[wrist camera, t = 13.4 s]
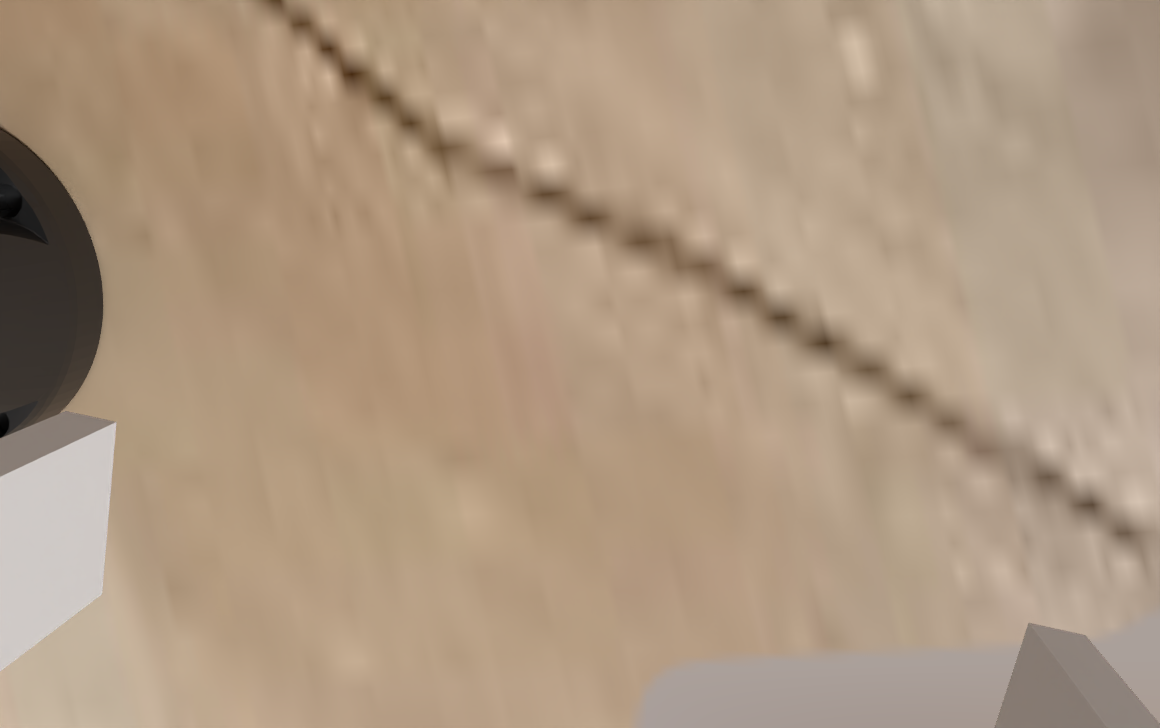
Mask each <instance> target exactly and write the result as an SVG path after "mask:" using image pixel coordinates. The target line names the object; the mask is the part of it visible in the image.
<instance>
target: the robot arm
mask: <svg viewBox="0 0 1160 728" xmlns="http://www.w3.org/2000/svg"><path fill="white" fill-rule="evenodd" d="M102 319H103V291H102V281H101V275H100V269H99V264H98V260H97V256H96V252H95V249H94V246H93V243H92V240H91V237H90V235H89V232H88V230H87V227H86V225H85V223H84V221H83V219H82V217H81V215H80V213H79V211H78V209H77V207H76V206H75V204H74V202H73V201H72V199H71V198H70V196H69V194H68V193H67V191H66V190H65V189H64V187H63V186H62V185H61V183H60V182H59V180H58V179H57V178H56V177H55V176H54V174H53V173H52V172H51V171H50V170H49V169H48V168H47V167H46V166H45V164H44V163H43V162H42V161H41V160H40V159H39V158H38V157H36V156H35V155H34V154H33V153H32V152H31V151H30V150H29V149H27V148H26V147H25V146H24V145H22V144H21V143H20V142H19V141H17V140H16V139H14V138H13V137H11V136H10V135H8V134H7V133H5V132H4V131H2V130H0V671H1V670H3V669H4V668H5V667H7V666H8V665H9V664H11V663H12V662H13V661H14V660H16V659H17V658H18V657H20V656H21V655H22V654H24V653H25V652H26V651H28V650H29V649H30V648H32V647H33V646H34V645H36V644H37V643H38V642H40V641H41V640H42V639H44V638H45V637H46V636H47V635H49V634H50V633H51V632H53V631H54V630H55V629H57V628H58V627H59V626H61V625H62V624H63V623H65V622H66V621H67V620H69V619H70V618H71V617H73V616H74V615H75V614H77V613H78V612H79V611H80V610H82V609H83V608H84V607H86V606H87V605H88V604H90V603H91V602H92V601H94V600H95V599H96V598H98V597H99V596H100V595H102V588H103V576H104V564H105V552H106V540H107V528H108V516H109V504H110V492H111V480H112V468H113V456H114V444H115V432H116V422H114V421H109V420H105V419H100V418H96V417H91V416H87V415H82V414H77V413H73V412H68V411H65V412H63V413H60V412H61V411H62V410H63V409H64V408H65V407H66V406H67V405H68V403H69V402H70V401H71V400H72V399H73V397H74V396H75V395H76V393H77V392H78V390H79V389H80V387H81V386H82V384H83V382H84V380H85V378H86V377H87V374H88V372H89V370H90V368H91V366H92V363H93V360H94V357H95V355H96V351H97V348H98V344H99V339H100V334H101V327H102ZM59 413H60V414H59ZM995 728H1160V723H1159V722H1158V721H1157V720H1156V719H1155V717H1154V716H1153V715H1152V714H1151V713H1150V712H1149V710H1148V709H1147V708H1146V707H1145V706H1144V704H1143V703H1142V702H1141V701H1140V700H1139V698H1138V697H1137V696H1136V695H1135V694H1134V692H1133V691H1132V690H1131V689H1130V688H1129V687H1128V685H1127V684H1126V683H1125V682H1124V681H1123V679H1122V678H1121V677H1120V676H1119V675H1118V674H1117V672H1116V671H1115V670H1114V669H1113V668H1112V666H1111V665H1110V664H1109V663H1108V662H1107V660H1106V659H1105V658H1104V657H1103V656H1102V655H1101V653H1100V652H1099V651H1098V650H1097V649H1096V647H1095V646H1094V645H1093V644H1092V643H1091V641H1090V640H1089V639H1088V638H1087V637H1086V636H1085V635H1082V634H1077V633H1073V632H1068V631H1064V630H1059V629H1055V628H1050V627H1046V626H1041V625H1036V624H1032V623H1029V624H1028V627H1027V630H1026V633H1025V636H1024V639H1023V642H1022V645H1021V648H1020V651H1019V654H1018V657H1017V660H1016V663H1015V667H1014V669H1013V673H1012V676H1011V679H1010V682H1009V685H1008V688H1007V691H1006V694H1005V697H1004V700H1003V703H1002V706H1001V709H1000V712H999V715H998V718H997V721H996V725H995Z"/></svg>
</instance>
